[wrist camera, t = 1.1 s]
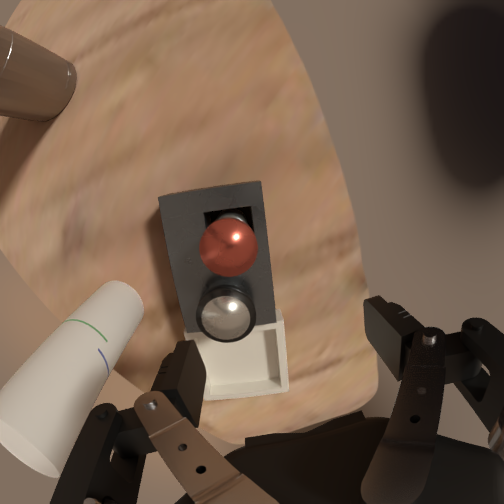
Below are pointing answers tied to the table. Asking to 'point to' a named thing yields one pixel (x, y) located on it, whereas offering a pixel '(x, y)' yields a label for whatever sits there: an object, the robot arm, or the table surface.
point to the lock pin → (229, 244)
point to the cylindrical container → (66, 378)
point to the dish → (245, 363)
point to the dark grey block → (207, 282)
